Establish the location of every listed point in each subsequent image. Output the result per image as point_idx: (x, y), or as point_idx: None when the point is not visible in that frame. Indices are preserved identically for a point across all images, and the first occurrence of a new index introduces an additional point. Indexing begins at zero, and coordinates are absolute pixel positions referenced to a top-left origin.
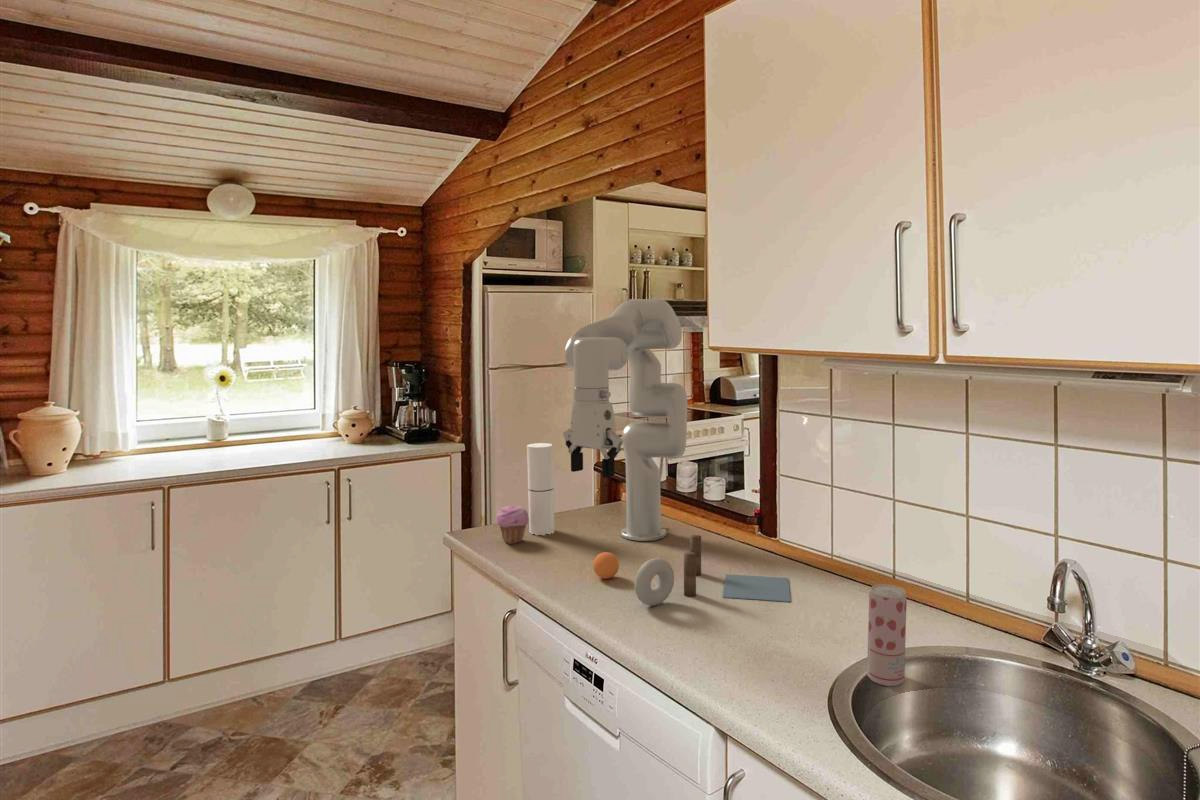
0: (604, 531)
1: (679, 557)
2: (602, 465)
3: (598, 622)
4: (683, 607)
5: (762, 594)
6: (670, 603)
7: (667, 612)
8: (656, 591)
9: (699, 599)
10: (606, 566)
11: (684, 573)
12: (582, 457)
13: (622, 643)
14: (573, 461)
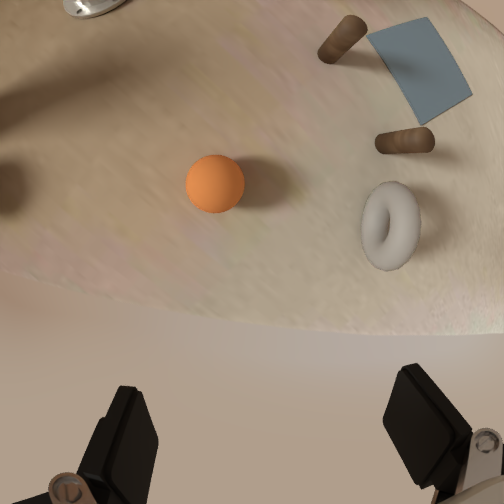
0: (39, 31)
1: (242, 7)
2: (408, 463)
3: (343, 321)
4: None
5: (446, 88)
6: None
7: None
8: (385, 224)
9: None
10: (236, 203)
11: (400, 151)
12: (120, 453)
13: (398, 334)
14: (149, 485)
